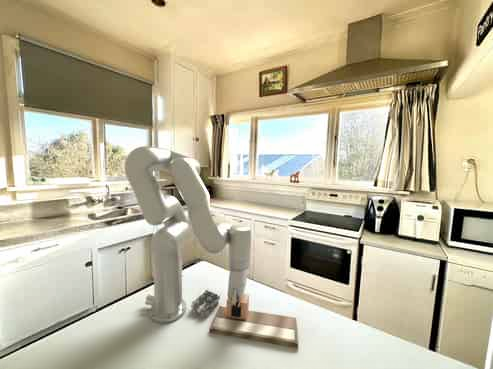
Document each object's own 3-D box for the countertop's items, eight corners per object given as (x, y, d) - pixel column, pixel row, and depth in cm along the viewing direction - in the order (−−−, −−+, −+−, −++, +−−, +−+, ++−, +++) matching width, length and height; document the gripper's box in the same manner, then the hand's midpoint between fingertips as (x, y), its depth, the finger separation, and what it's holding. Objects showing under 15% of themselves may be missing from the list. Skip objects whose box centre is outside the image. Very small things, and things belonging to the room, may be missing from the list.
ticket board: (209, 332, 69) (209, 326, 69) (219, 309, 80) (219, 304, 79) (297, 348, 64) (298, 341, 64) (295, 321, 75) (296, 315, 75)
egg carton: (205, 320, 75) (205, 309, 74) (188, 313, 78) (188, 302, 77) (222, 302, 84) (222, 293, 84) (206, 296, 87) (206, 287, 87)
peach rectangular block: (226, 316, 74) (226, 300, 73) (229, 307, 79) (230, 291, 78) (246, 319, 73) (246, 303, 72) (248, 309, 78) (248, 294, 77)
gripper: (234, 250, 83) (232, 294, 85) (221, 272, 66) (220, 326, 68) (253, 252, 82) (251, 297, 83) (245, 275, 65) (243, 330, 67)
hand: (237, 310), depth 76 cm, fingers closed on peach rectangular block, 5 cm apart
